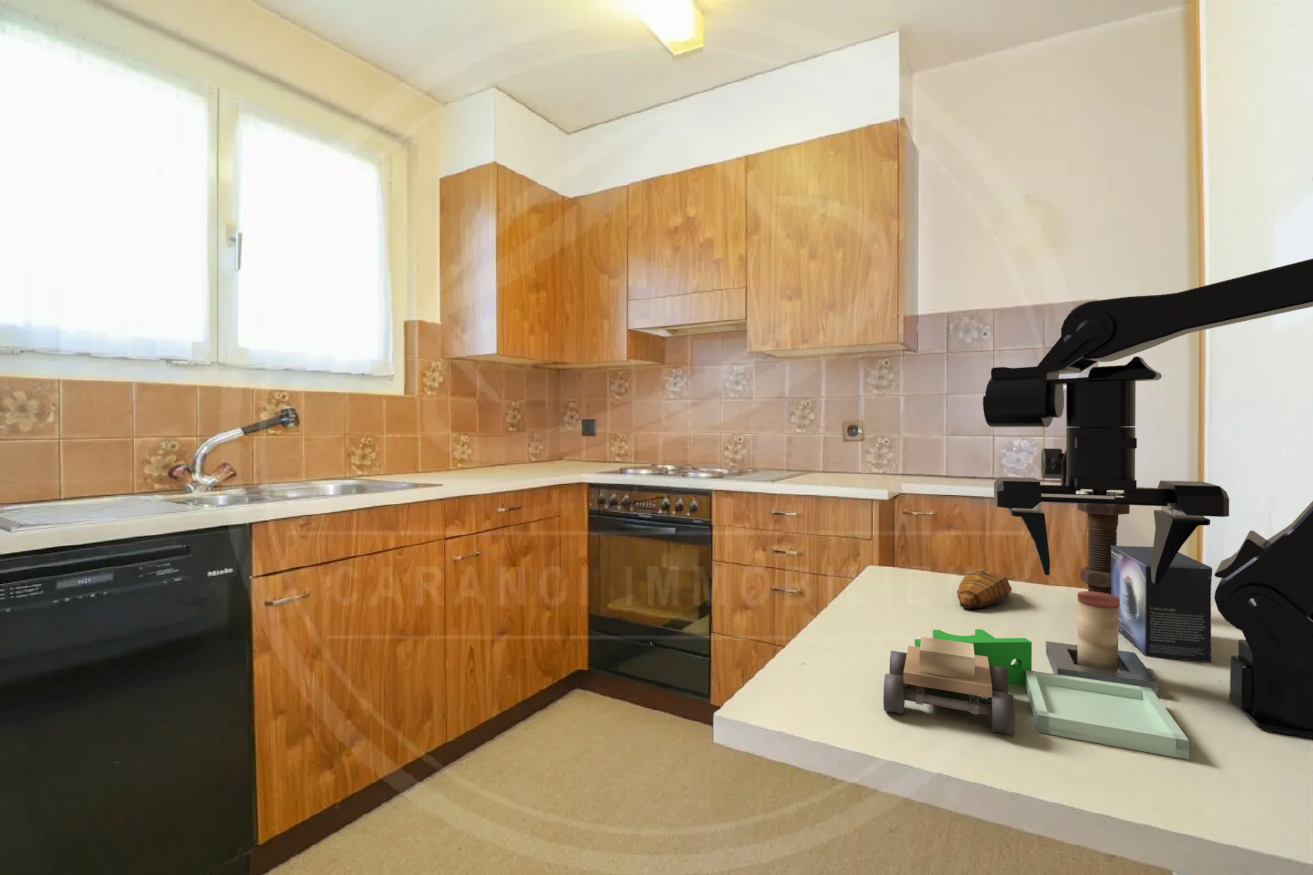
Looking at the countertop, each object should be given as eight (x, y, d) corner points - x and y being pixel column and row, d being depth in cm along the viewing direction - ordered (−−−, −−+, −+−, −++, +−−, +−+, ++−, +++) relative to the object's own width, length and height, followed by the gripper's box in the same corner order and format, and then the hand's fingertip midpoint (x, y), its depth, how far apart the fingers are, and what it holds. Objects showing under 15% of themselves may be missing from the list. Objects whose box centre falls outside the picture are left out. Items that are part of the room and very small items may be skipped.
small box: (1106, 625, 77) (1107, 543, 77) (1168, 630, 75) (1169, 546, 74) (1141, 656, 67) (1142, 562, 67) (1214, 663, 65) (1216, 566, 65)
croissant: (991, 618, 81) (991, 580, 80) (940, 606, 86) (940, 571, 85) (1027, 597, 89) (1027, 563, 89) (979, 587, 94) (979, 556, 94)
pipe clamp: (1010, 671, 64) (1010, 628, 64) (1031, 687, 60) (1032, 641, 60) (904, 671, 64) (904, 628, 64) (919, 687, 61) (919, 641, 60)
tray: (1150, 703, 56) (1150, 688, 56) (1188, 759, 47) (1189, 740, 47) (1024, 684, 60) (1024, 669, 60) (1037, 731, 51) (1037, 714, 51)
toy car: (1005, 695, 58) (1006, 634, 58) (1014, 741, 50) (1015, 671, 50) (892, 676, 63) (892, 620, 62) (883, 716, 54) (883, 651, 54)
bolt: (1072, 608, 83) (1073, 500, 83) (1080, 600, 87) (1081, 496, 86) (1125, 618, 79) (1126, 504, 79) (1131, 609, 83) (1132, 500, 82)
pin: (1113, 669, 64) (1114, 593, 63) (1122, 683, 60) (1123, 602, 60) (1073, 664, 65) (1074, 589, 65) (1080, 676, 62) (1081, 598, 62)
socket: (1134, 665, 65) (1134, 652, 65) (1157, 696, 57) (1157, 682, 57) (1045, 653, 68) (1046, 641, 68) (1057, 681, 61) (1057, 668, 61)
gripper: (1188, 425, 65) (1187, 569, 65) (990, 426, 73) (991, 554, 74) (1232, 426, 55) (1230, 597, 55) (997, 428, 63) (997, 577, 64)
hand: (1099, 578), depth 62 cm, fingers open, 9 cm apart
